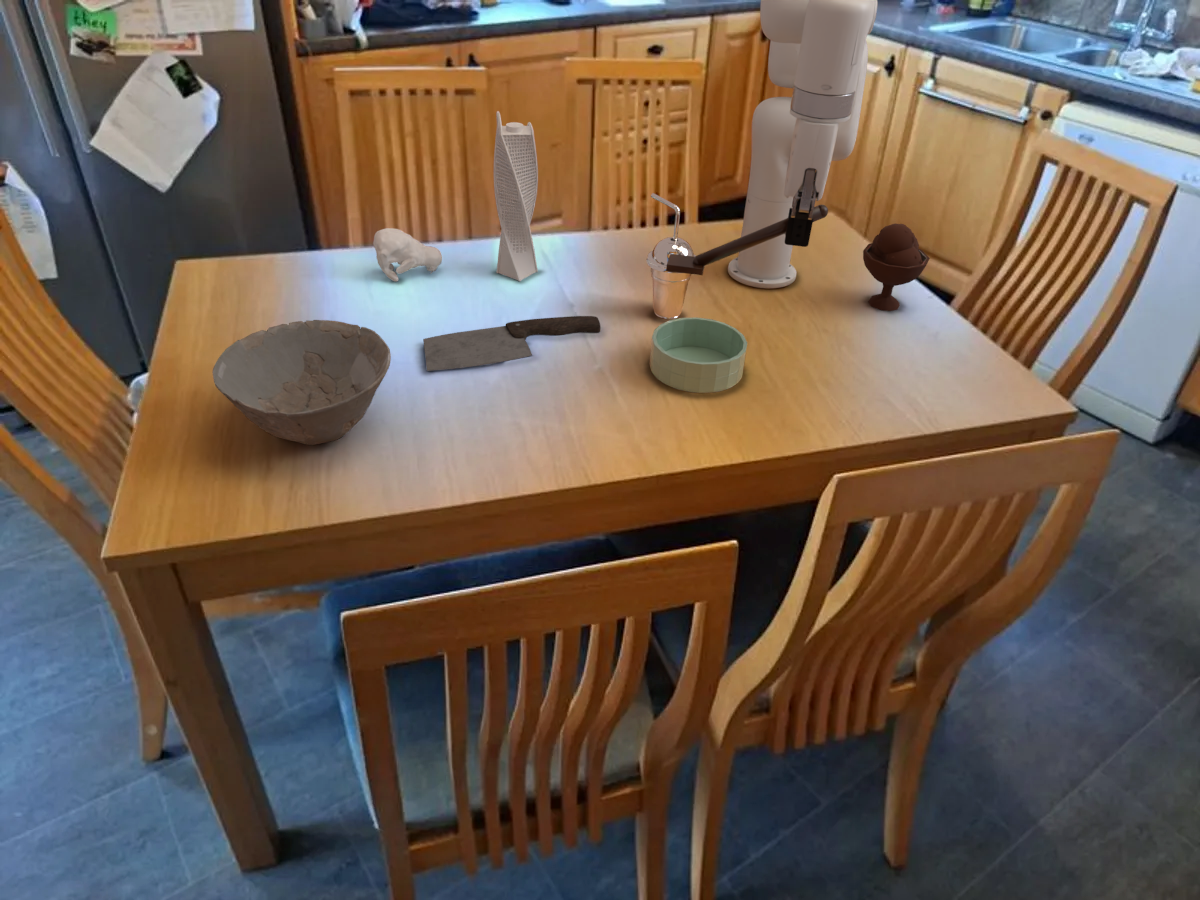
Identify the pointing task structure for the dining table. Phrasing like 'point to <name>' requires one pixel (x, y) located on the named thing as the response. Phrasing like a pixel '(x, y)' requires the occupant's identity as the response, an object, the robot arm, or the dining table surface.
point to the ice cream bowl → (893, 262)
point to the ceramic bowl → (304, 378)
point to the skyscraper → (515, 197)
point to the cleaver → (498, 341)
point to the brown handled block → (733, 246)
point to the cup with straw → (666, 283)
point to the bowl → (697, 355)
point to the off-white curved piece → (403, 252)
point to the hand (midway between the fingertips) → (796, 240)
